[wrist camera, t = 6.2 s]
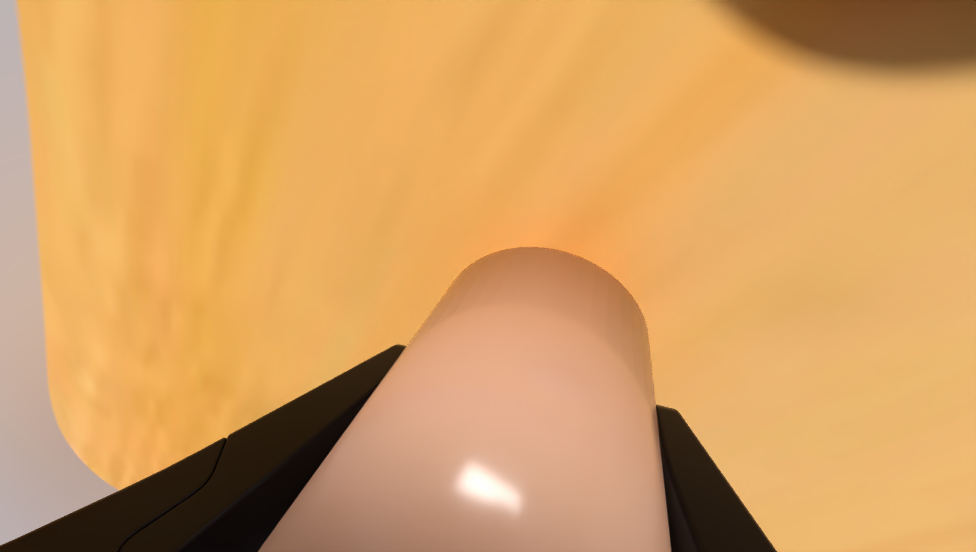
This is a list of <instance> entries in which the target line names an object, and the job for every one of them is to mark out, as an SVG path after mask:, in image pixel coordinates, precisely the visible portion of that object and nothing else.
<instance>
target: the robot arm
mask: <svg viewBox="0 0 976 552" xmlns="http://www.w3.org/2000/svg"><path fill="white" fill-rule="evenodd" d="M405 348H406V346H404V345H394V346H392V347H390V348H388V349H387V350H385V351H383V352H381V353H379V354H377V355H376V356H374V357H372V358H370V359H368V360H366V361H364V362H363V363H361V364H359V365H357V366H355V367H353V368H352V369H350V370H348V371H346V372H344V373H342V374H341V375H339V376H337V377H335V378H333V379H331V380H329V381H328V382H326V383H324V384H322V385H320V386H318V387H317V388H315V389H313V390H311V391H309V392H307V393H305V394H304V395H302V396H300V397H298V398H296V399H294V400H293V401H291V402H289V403H287V404H285V405H283V406H281V407H280V408H278V409H276V410H274V411H272V412H270V413H269V414H267V415H265V416H263V417H261V418H259V419H257V420H256V421H254V422H252V423H250V424H248V425H246V426H245V427H243V428H241V429H239V430H237V431H235V432H233V433H232V434H230V435H229V436H228V438H222V439H220V440H218V441H217V442H215V443H213V444H211V445H209V446H207V447H205V448H204V449H202V450H200V451H198V452H196V453H194V454H192V455H190V456H188V457H186V458H185V459H183V460H181V461H179V462H177V463H175V464H173V465H171V466H169V467H167V468H165V469H163V470H161V471H159V472H157V473H155V474H153V475H151V476H149V477H147V478H145V479H143V480H141V481H138V482H136V483H134V484H132V485H130V486H128V487H126V488H124V489H122V490H120V491H118V492H115V493H113V494H111V495H109V496H107V497H105V498H103V499H100V500H98V501H96V502H94V503H92V504H90V505H88V506H85V507H83V508H81V509H79V510H77V511H75V512H73V513H70V514H68V515H66V516H64V517H62V518H60V519H57V520H55V521H53V522H51V523H49V524H47V525H45V526H42V527H40V528H38V529H36V530H34V531H32V532H30V533H27V534H25V535H23V536H21V537H19V538H17V539H14V540H12V541H10V542H7V543H5V544H3V545H0V552H258V551H259V549H260V548H261V546H262V545H263V544H264V542H265V541H266V540H267V538H268V537H269V535H270V534H271V533H272V531H273V530H274V529H275V527H276V526H277V524H278V523H279V522H280V520H281V519H282V518H283V516H284V515H285V513H286V512H287V511H288V509H289V508H290V506H291V505H292V504H293V502H294V501H295V500H296V498H297V497H298V495H299V494H300V493H301V491H302V490H303V489H304V487H305V486H306V484H307V483H308V482H309V480H310V479H311V477H312V476H313V475H314V473H315V472H316V471H317V469H318V468H319V466H320V465H321V464H322V462H323V461H324V460H325V458H326V457H327V455H328V454H329V453H330V451H331V450H332V449H333V447H334V446H335V444H336V443H337V442H338V440H339V439H340V437H341V436H342V435H343V433H344V432H345V431H346V429H347V428H348V426H349V425H350V424H351V422H352V421H353V420H354V418H355V417H356V415H357V414H358V413H359V411H360V410H361V408H362V407H363V406H364V404H365V403H366V402H367V400H368V399H369V397H370V396H371V395H372V393H373V392H374V391H375V389H376V388H377V386H378V385H379V384H380V382H381V381H382V380H383V378H384V377H385V375H386V374H387V373H388V371H389V370H390V368H391V367H392V366H393V364H394V363H395V362H396V360H397V359H398V357H399V356H400V355H401V353H402V352H403V351H404V349H405ZM656 410H657V420H658V429H659V439H660V448H661V458H662V467H663V476H664V486H665V495H666V505H667V514H668V524H669V533H670V543H671V552H777V551H776V550H775V548H774V547H773V545H772V544H771V543H770V541H769V540H768V538H767V537H766V535H765V534H764V533H763V531H762V530H761V528H760V527H759V525H758V524H757V523H756V521H755V520H754V518H753V517H752V515H751V514H750V513H749V511H748V510H747V508H746V507H745V506H744V504H743V503H742V501H741V500H740V498H739V497H738V496H737V494H736V493H735V491H734V490H733V488H732V487H731V486H730V484H729V483H728V481H727V480H726V478H725V477H724V476H723V474H722V473H721V471H720V470H719V469H718V467H717V466H716V464H715V463H714V461H713V460H712V459H711V457H710V456H709V454H708V453H707V451H706V450H705V449H704V447H703V446H702V444H701V443H700V441H699V440H698V439H697V437H696V436H695V434H694V433H693V432H692V430H691V429H690V427H689V426H688V424H687V423H686V422H685V420H684V419H683V417H682V416H681V414H680V413H679V412H678V411H677V410H675V409H672V408H668V407H664V406H660V405H656Z"/></svg>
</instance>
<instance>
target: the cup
mask: <svg viewBox="0 0 976 552" xmlns="http://www.w3.org/2000/svg"><path fill="white" fill-rule="evenodd" d="M258 552H671V543H670V533H669V524H668V514H667V505H666V495H665V486H664V476H663V467H662V458H661V448H660V439H659V429H658V420H657V410H656V401H655V391H654V382H653V372H652V363H651V353H650V344H649V336H648V329H647V325H646V322H645V319H644V316H643V314H642V312H641V310H640V308H639V306H638V304H637V303H636V301H635V300H634V298H633V297H632V295H631V294H630V293H629V292H628V291H627V290H626V288H625V287H624V286H623V285H622V284H621V283H620V282H619V281H618V280H617V279H615V278H614V277H613V276H612V275H611V274H609V273H608V272H607V271H605V270H603V269H602V268H600V267H599V266H597V265H596V264H594V263H592V262H590V261H588V260H586V259H584V258H582V257H579V256H576V255H573V254H570V253H567V252H564V251H559V250H555V249H549V248H539V247H519V248H512V249H506V250H502V251H499V252H495V253H492V254H490V255H487V256H485V257H483V258H480V259H479V260H477V261H476V262H474V263H472V264H471V265H469V266H468V267H467V268H466V269H465V270H464V271H462V272H461V273H460V274H459V276H458V277H457V278H456V279H455V280H454V282H453V283H452V284H451V286H450V287H449V288H448V290H447V291H446V293H445V294H444V295H443V297H442V298H441V299H440V301H439V302H438V304H437V305H436V306H435V308H434V309H433V311H432V312H431V313H430V315H429V316H428V317H427V319H426V320H425V322H424V323H423V324H422V326H421V327H420V328H419V330H418V331H417V333H416V334H415V335H414V337H413V338H412V340H411V341H410V342H409V344H408V345H407V346H406V348H405V349H404V351H403V352H402V353H401V355H400V356H399V357H398V359H397V360H396V362H395V363H394V364H393V366H392V367H391V368H390V370H389V371H388V373H387V374H386V375H385V377H384V378H383V380H382V381H381V382H380V384H379V385H378V386H377V388H376V389H375V391H374V392H373V393H372V395H371V396H370V397H369V399H368V400H367V402H366V403H365V404H364V406H363V407H362V408H361V410H360V411H359V413H358V414H357V415H356V417H355V418H354V420H353V421H352V422H351V424H350V425H349V426H348V428H347V429H346V431H345V432H344V433H343V435H342V436H341V437H340V439H339V440H338V442H337V443H336V444H335V446H334V447H333V449H332V450H331V451H330V453H329V454H328V455H327V457H326V458H325V460H324V461H323V462H322V464H321V465H320V466H319V468H318V469H317V471H316V472H315V473H314V475H313V476H312V477H311V479H310V480H309V482H308V483H307V484H306V486H305V487H304V489H303V490H302V491H301V493H300V494H299V495H298V497H297V498H296V500H295V501H294V502H293V504H292V505H291V506H290V508H289V509H288V511H287V512H286V513H285V515H284V516H283V518H282V519H281V520H280V522H279V523H278V524H277V526H276V527H275V529H274V530H273V531H272V533H271V534H270V535H269V537H268V538H267V540H266V541H265V542H264V544H263V545H262V546H261V548H260V549H259V551H258Z"/></svg>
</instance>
